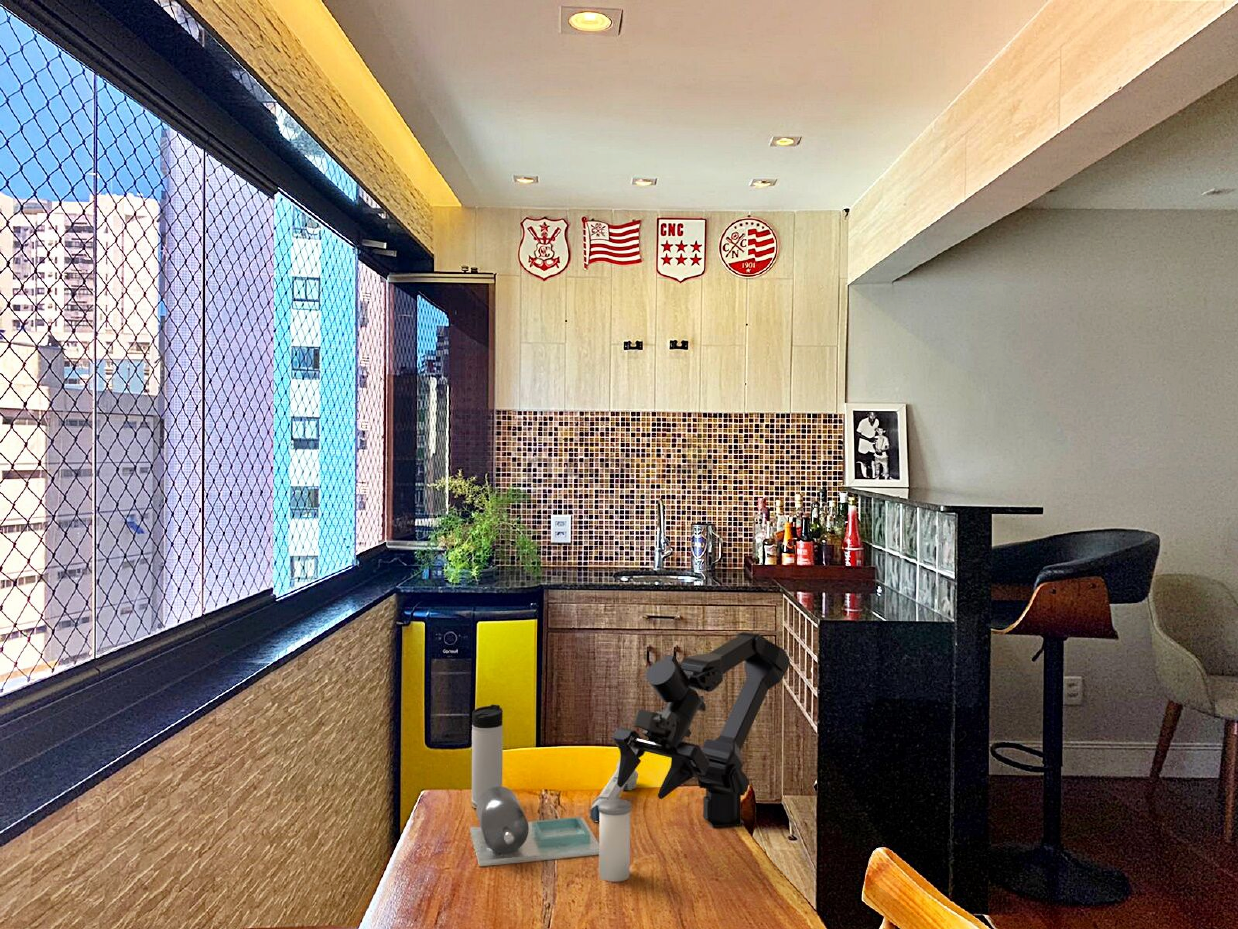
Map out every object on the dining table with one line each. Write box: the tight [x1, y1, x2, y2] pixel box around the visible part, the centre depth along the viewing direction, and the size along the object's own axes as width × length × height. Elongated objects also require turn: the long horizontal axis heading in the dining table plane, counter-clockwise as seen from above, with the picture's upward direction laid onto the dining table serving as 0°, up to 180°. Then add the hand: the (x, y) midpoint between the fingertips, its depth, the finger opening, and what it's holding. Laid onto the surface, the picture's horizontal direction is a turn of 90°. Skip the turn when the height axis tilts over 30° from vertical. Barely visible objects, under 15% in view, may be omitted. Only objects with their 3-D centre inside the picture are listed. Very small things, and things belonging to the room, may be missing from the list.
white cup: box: [598, 798, 632, 883], centre depth 162 cm, size 6×6×12 cm
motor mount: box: [469, 786, 599, 867], centre depth 175 cm, size 22×18×9 cm
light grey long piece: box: [589, 759, 639, 822], centre depth 198 cm, size 5×7×25 cm
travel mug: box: [471, 704, 504, 807], centre depth 196 cm, size 6×7×20 cm
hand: (638, 792), depth 167 cm, fingers open, 9 cm apart
